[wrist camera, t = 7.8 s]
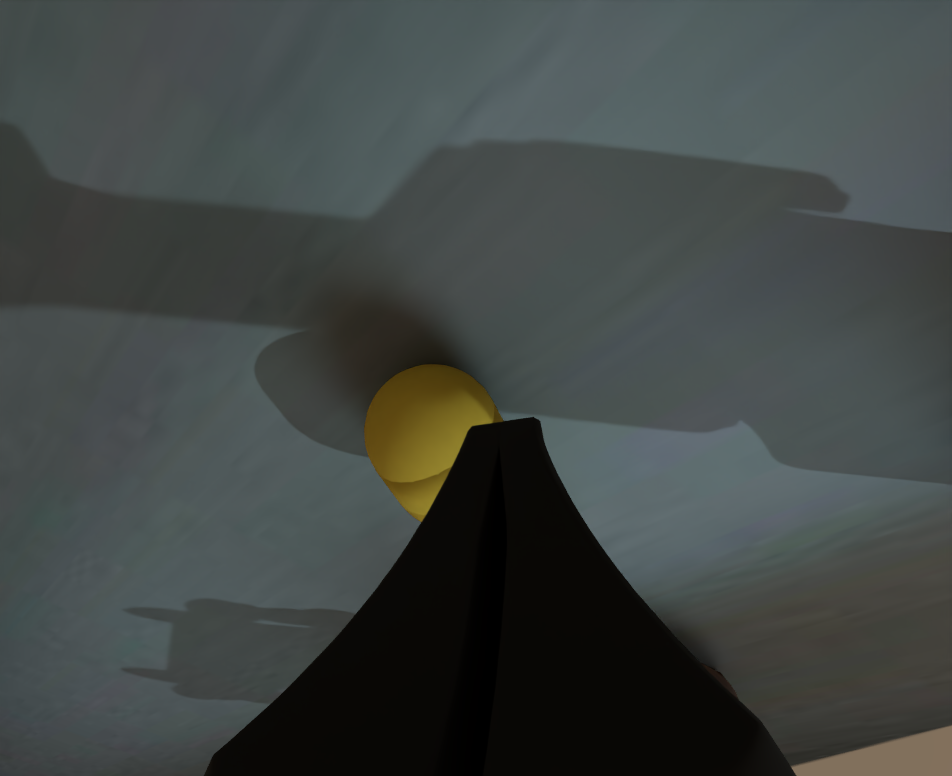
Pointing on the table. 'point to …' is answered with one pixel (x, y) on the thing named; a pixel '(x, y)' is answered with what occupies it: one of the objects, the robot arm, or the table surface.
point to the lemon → (423, 429)
